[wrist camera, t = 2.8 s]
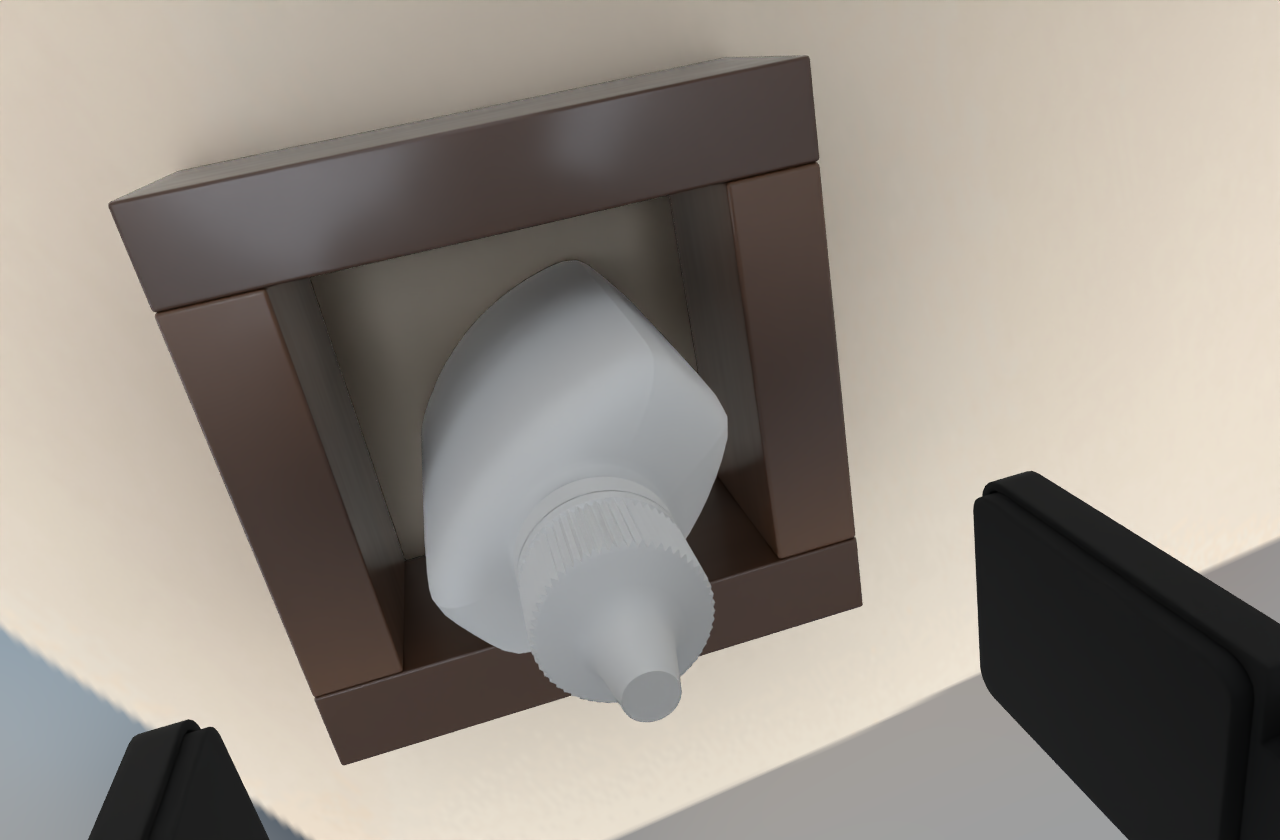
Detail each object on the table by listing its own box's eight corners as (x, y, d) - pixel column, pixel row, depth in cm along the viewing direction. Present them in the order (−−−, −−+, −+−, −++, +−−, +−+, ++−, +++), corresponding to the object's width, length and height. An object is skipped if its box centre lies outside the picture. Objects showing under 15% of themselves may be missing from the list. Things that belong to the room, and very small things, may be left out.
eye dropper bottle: (666, 405, 22) (911, 735, 11) (450, 491, 22) (489, 923, 11) (609, 238, 20) (837, 439, 9) (372, 328, 20) (325, 648, 9)
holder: (175, 171, 18) (105, 203, 14) (727, 56, 19) (810, 54, 15) (354, 640, 22) (341, 767, 18) (787, 514, 24) (864, 606, 20)
